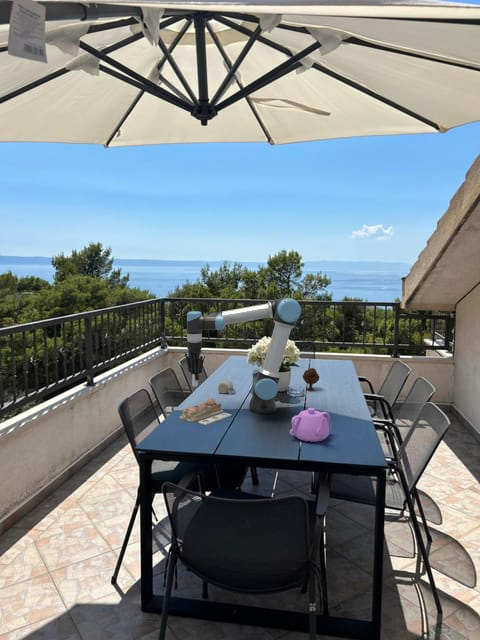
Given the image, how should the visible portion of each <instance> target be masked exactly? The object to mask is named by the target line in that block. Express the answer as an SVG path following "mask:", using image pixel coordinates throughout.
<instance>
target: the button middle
mask: <svg viewBox="0 0 480 640" xmlns="http://www.w3.org/2000/svg"><path fill="white" fill-rule="evenodd" d="M196 405H197V408H200V409H203V408H206V405H204V404H203V403H200V404H196Z"/></svg>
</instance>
